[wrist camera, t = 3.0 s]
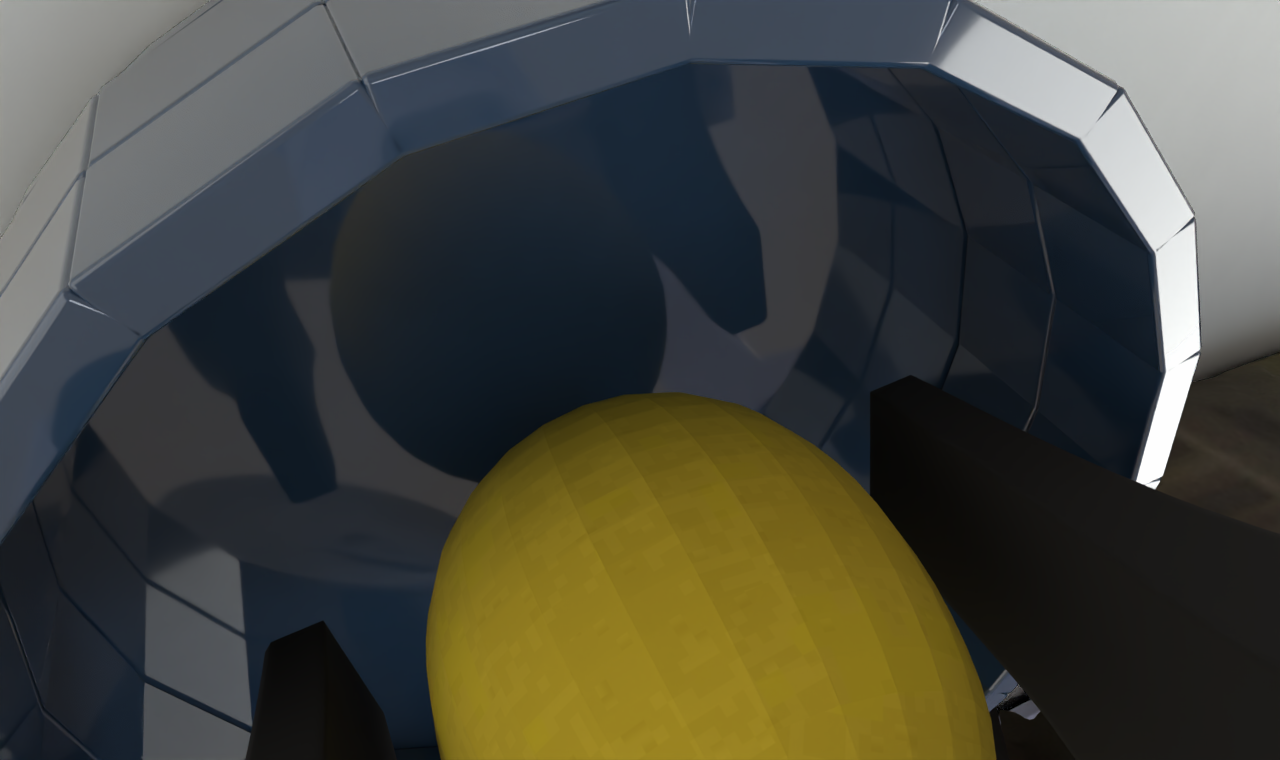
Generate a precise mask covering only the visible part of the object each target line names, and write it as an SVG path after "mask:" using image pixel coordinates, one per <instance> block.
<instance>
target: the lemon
mask: <svg viewBox="0 0 1280 760" xmlns="http://www.w3.org/2000/svg"><path fill="white" fill-rule="evenodd" d="M426 667H427V677H428V685H429V693H430V700H431V707H432V714H433V720H434V727H435V733H436V740H437V744H438V749H439V753H440V758H441V760H996V752H995V744H994V737H993V729H992V721H991V717H990V714H989V710H988V707H987V703H986V699H985V696H984V692H983V689H982V685H981V682H980V679H979V677H978V674H977V672H976V669H975V666H974V664H973V661H972V659H971V656H970V654H969V651H968V649H967V646H966V644H965V642H964V640H963V638H962V636H961V634H960V631H959V629H958V627H957V625H956V623H955V621H954V619H953V617H952V615H951V613H950V611H949V609H948V607H947V605H946V604H945V602H944V600H943V598H942V596H941V594H940V593H939V591H938V589H937V587H936V585H935V584H934V582H933V580H932V579H931V577H930V576H929V574H928V573H927V571H926V569H925V568H924V566H923V565H922V563H921V562H920V560H919V559H918V557H917V555H916V554H915V553H914V551H913V550H912V549H911V548H910V546H909V545H908V544H907V542H906V541H905V540H904V538H903V537H902V536H901V534H900V533H899V532H898V530H897V529H896V528H895V526H894V525H893V524H892V522H891V521H890V520H889V519H888V517H887V516H886V515H885V513H884V512H883V511H882V509H881V508H880V507H879V506H878V504H877V503H876V502H875V501H874V500H873V498H872V497H871V496H870V495H869V494H868V493H867V492H866V491H865V490H864V489H863V487H862V486H861V485H860V484H859V483H858V482H857V481H856V480H855V479H854V478H853V477H852V476H851V475H850V474H849V473H848V472H847V471H845V470H844V469H843V468H842V467H841V466H840V465H839V464H838V463H837V462H836V461H834V460H833V459H832V458H831V457H829V456H828V455H827V454H825V453H824V452H823V451H821V450H820V449H819V448H817V447H816V446H815V445H813V444H812V443H810V442H808V441H807V440H805V439H804V438H802V437H800V436H799V435H797V434H795V433H794V432H792V431H790V430H788V429H787V428H785V427H783V426H781V425H780V424H778V423H776V422H774V421H773V420H771V419H769V418H767V417H766V416H764V415H762V414H760V413H758V412H756V411H754V410H751V409H749V408H746V407H744V406H741V405H739V404H735V403H731V402H726V401H721V400H716V399H711V398H706V397H701V396H696V395H691V394H686V393H681V392H667V393H646V394H627V395H621V396H617V397H613V398H609V399H606V400H602V401H598V402H594V403H590V404H587V405H583V406H581V407H579V408H577V409H575V410H573V411H571V412H568V413H566V414H564V415H562V416H560V417H558V418H556V419H554V420H552V421H550V422H548V423H546V424H544V425H542V426H541V427H540V428H538V429H537V430H536V431H534V432H533V433H532V434H530V435H529V436H527V437H526V438H525V439H523V440H522V441H521V442H519V443H518V444H517V445H515V446H514V447H513V448H511V449H510V450H509V451H508V452H507V453H506V454H505V455H504V456H503V457H502V458H501V459H500V460H499V462H498V463H497V464H496V465H495V466H494V467H493V468H492V469H491V470H490V472H489V473H488V474H487V475H486V476H485V477H484V478H483V479H482V480H481V481H480V483H479V484H478V485H477V487H476V488H475V489H474V491H473V492H472V493H471V495H470V497H469V499H468V500H467V502H466V504H465V506H464V508H463V509H462V511H461V513H460V515H459V517H458V518H457V520H456V522H455V524H454V526H453V528H452V529H451V531H450V534H449V536H448V538H447V540H446V543H445V545H444V547H443V549H442V553H441V557H440V562H439V566H438V571H437V575H436V580H435V584H434V589H433V593H432V598H431V603H430V607H429V612H428V619H427V632H426Z"/></svg>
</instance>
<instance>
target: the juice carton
mask: <svg viewBox="0 0 1280 760" xmlns="http://www.w3.org/2000/svg"><path fill="white" fill-rule="evenodd" d="M1156 490H1158V491H1160V492H1163V493H1165V494H1168V495H1170V496H1173V497H1175V498H1178V499H1181V500H1183V501H1186V502H1189V503H1191V504H1194V505H1197V506H1199V507H1202V508H1205V509H1208V510H1211V511H1213V512H1216V513H1219V514H1222V515H1225V516H1228V517H1231V518H1234V519H1237V520H1240V521H1243V522H1246V523H1248V524H1251V525H1254V526H1257V527H1260V528H1263V529H1266V530H1269V531H1272V532H1276V533H1279V534H1280V353H1277V354H1274V355H1271V356H1268V357H1265V358H1262V359H1259V360H1256V361H1253V362H1251V363H1248V364H1245V365H1242V366H1240V367H1237V368H1234V369H1231V370H1228V371H1226V372H1224V373H1222V374H1220V375H1218V376H1216V377H1212V378H1208V379H1204V380H1200V381H1196V382H1192V384H1191V387H1190V391H1189V394H1188V397H1187V400H1186V404H1185V407H1184V410H1183V414H1182V417H1181V420H1180V424H1179V427H1178V430H1177V434H1176V437H1175V440H1174V443H1173V447H1172V450H1171V453H1170V457H1169V460H1168V463H1167V467H1166V470H1165V473H1164V475H1163V476H1162V477H1161V481H1160V483H1159V485H1158V486H1157V488H1156ZM989 714H990V717H991V721H992V729H993V737H994V744H995V752H996V760H1076V759H1075V758H1074V756H1073V755H1072V753H1071V752H1070V751H1069V749H1068V748H1067V746H1066V745H1065V744H1064V742H1063V741H1062V739H1061V738H1060V737H1059V735H1058V734H1057V732H1056V731H1055V730H1054V728H1053V727H1052V725H1051V724H1050V723H1049V721H1048V720H1047V719H1046V717H1045V716H1044V715H1043V714H1042V712H1041V711H1040V712H1039V713H1038V714H1037V716H1036V717H1035V718H1034V719H1031V720H1029V719H1026V718H1024V717H1023V716H1021V715H1019V714H1017V713H1015V712H1011V711H1006V710H1000V711H999V716H998V712H997V708H996V706H995V707H994V708H993V709H992V710H991V711H990V712H989ZM999 717H1000V720H999ZM1000 721H1001V724H1000Z"/></svg>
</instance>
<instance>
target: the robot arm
mask: <svg viewBox="0 0 1280 760" xmlns="http://www.w3.org/2000/svg"><path fill="white" fill-rule="evenodd" d="M870 496H871V497H872V498H873V500H874V501H875V502H876V503H877V504H878V506H879V507H880V508H881V509H882V511H883V512H884V513H885V515H886V516H887V517H888V519H889V520H890V521H891V522H892V524H893V525H894V526H895V528H896V529H897V530H898V532H899V533H900V534H901V536H902V537H903V538H904V540H905V541H906V542H907V544H908V545H909V546H910V548H911V549H912V550H913V551H914V553H915V554H916V555H917V557H918V559H919V560H920V562H921V563H922V565H923V566H924V568H925V569H926V571H927V573H928V574H929V576H930V577H931V579H932V580H933V582H934V584H935V585H936V587H937V589H938V591H939V593H940V594H941V596H942V597H943V598H944V599H945V600H946V601H947V603H948V604H949V605H950V606H951V607H952V608H953V610H954V611H955V612H956V613H957V614H958V615H959V616H960V618H961V619H962V620H963V621H964V622H965V623H966V624H967V626H968V627H969V628H970V629H971V630H972V631H973V633H974V634H975V635H976V636H977V637H978V638H979V639H980V641H981V642H982V643H983V644H984V645H985V646H986V647H987V649H988V650H989V651H990V652H991V653H992V654H993V655H994V657H995V658H996V659H997V660H998V661H999V662H1000V664H1001V665H1002V666H1003V667H1004V668H1005V669H1006V670H1007V672H1008V673H1009V674H1010V675H1011V676H1012V677H1013V678H1014V680H1015V681H1016V682H1017V683H1018V684H1019V685H1020V687H1021V688H1022V689H1023V690H1024V691H1025V692H1026V694H1027V695H1028V696H1029V697H1030V699H1031V700H1029V701H1027V702H1025V703H1023V704H1021V705H1019V706H1017V707H1015V708H1013V709H1011V710H1009V711H1011V712H1015V713H1017V714H1019V715H1021V716H1023V717H1024V718H1026V719H1029V720H1031V719H1034V718H1035V717H1036V716H1037V714H1038V713H1039V712H1040V711H1041V712H1042V714H1043V715H1044V716H1045V717H1046V719H1047V720H1048V721H1049V723H1050V724H1051V725H1052V727H1053V728H1054V730H1055V731H1056V732H1057V734H1058V735H1059V737H1060V738H1061V739H1062V741H1063V742H1064V744H1065V745H1066V746H1067V748H1068V749H1069V751H1070V752H1071V753H1072V755H1073V756H1074V758H1075V759H1076V760H1280V534H1279V533H1276V532H1272V531H1269V530H1266V529H1263V528H1260V527H1257V526H1254V525H1251V524H1248V523H1246V522H1243V521H1240V520H1237V519H1234V518H1231V517H1228V516H1225V515H1222V514H1219V513H1216V512H1213V511H1211V510H1208V509H1205V508H1202V507H1199V506H1197V505H1194V504H1191V503H1189V502H1186V501H1183V500H1181V499H1178V498H1175V497H1173V496H1170V495H1168V494H1165V493H1163V492H1160V491H1158V490H1155V489H1153V488H1150V487H1148V486H1146V485H1143V484H1141V483H1138V482H1136V481H1133V480H1131V479H1129V478H1126V477H1124V476H1121V475H1119V474H1116V473H1114V472H1112V471H1109V470H1107V469H1105V468H1103V467H1100V466H1098V465H1096V464H1094V463H1091V462H1089V461H1087V460H1085V459H1082V458H1080V457H1078V456H1076V455H1074V454H1071V453H1069V452H1067V451H1065V450H1063V449H1061V448H1058V447H1056V446H1054V445H1052V444H1050V443H1048V442H1046V441H1044V440H1041V439H1039V438H1037V437H1035V436H1033V435H1031V434H1029V433H1027V432H1025V431H1023V430H1021V429H1019V428H1017V427H1015V426H1013V425H1011V424H1009V423H1007V422H1005V421H1003V420H1001V419H999V418H997V417H994V416H992V415H990V414H988V413H986V412H984V411H982V410H980V409H978V408H976V407H975V406H973V405H971V404H969V403H967V402H965V401H963V400H961V399H959V398H957V397H955V396H953V395H951V394H949V393H947V392H945V391H943V390H941V389H939V388H937V387H935V386H933V385H931V384H929V383H927V382H925V381H923V380H921V379H919V378H917V377H914V376H912V375H909V376H907V377H904V378H902V379H900V380H897V381H895V382H892V383H890V384H888V385H885V386H883V387H880V388H878V389H876V390H873V391H871V392H870ZM999 720H1000V717H999ZM1000 724H1001V721H1000ZM245 760H397V758H396V754H395V751H394V747H393V744H392V740H391V737H390V733H389V730H388V726H387V722H386V719H385V715H384V712H383V711H382V709H381V708H380V706H379V705H378V703H377V702H376V700H375V699H374V697H373V696H372V694H371V693H370V691H369V689H368V688H367V686H366V685H365V683H364V682H363V680H362V679H361V677H360V676H359V674H358V673H357V671H356V670H355V668H354V667H353V665H352V663H351V662H350V660H349V659H348V657H347V656H346V654H345V653H344V651H343V650H342V648H341V647H340V645H339V644H338V642H337V641H336V639H335V638H334V636H333V634H332V633H331V631H330V630H329V628H328V627H327V625H326V624H325V622H324V621H320V622H318V623H316V624H313V625H311V626H308V627H306V628H304V629H301V630H299V631H296V632H294V633H292V634H289V635H287V636H284V637H282V638H280V639H277V640H275V641H272V642H271V643H270V644H269V646H268V648H267V650H266V651H265V656H264V662H263V669H262V675H261V681H260V687H259V693H258V699H257V704H256V710H255V715H254V720H253V725H252V730H251V735H250V740H249V744H248V749H247V754H246V758H245Z"/></svg>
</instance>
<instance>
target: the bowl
mask: <svg viewBox="0 0 1280 760" xmlns="http://www.w3.org/2000/svg"><path fill="white" fill-rule="evenodd" d="M1194 215H1195V212H1194V210H1193V209H1192V207H1191V205H1190V203H1189V202H1188V200H1187V198H1186V196H1185V195H1184V193H1183V191H1182V189H1181V188H1180V186H1179V184H1178V182H1177V181H1176V179H1175V177H1174V175H1173V174H1172V172H1171V170H1170V168H1169V167H1168V165H1167V163H1166V161H1165V160H1164V158H1163V156H1162V154H1161V153H1160V151H1159V149H1158V147H1157V146H1156V144H1155V142H1154V140H1153V138H1152V137H1151V135H1150V133H1149V131H1148V130H1147V128H1146V126H1145V124H1144V123H1143V121H1142V119H1141V117H1140V116H1139V114H1138V112H1137V110H1136V109H1135V107H1134V105H1133V103H1132V102H1131V100H1130V98H1129V96H1128V95H1127V93H1126V91H1125V90H1124V88H1123V87H1120V86H1118V85H1117V83H1116V82H1115V81H1114V80H1113V79H1111V78H1109V77H1107V76H1106V75H1104V74H1102V73H1100V72H1098V71H1097V70H1095V69H1093V68H1091V67H1090V66H1088V65H1086V64H1084V63H1083V62H1081V61H1079V60H1077V59H1076V58H1074V57H1072V56H1070V55H1068V54H1067V53H1065V52H1063V51H1061V50H1060V49H1058V48H1056V47H1054V46H1053V45H1051V44H1049V43H1047V42H1046V41H1044V40H1042V39H1040V38H1039V37H1037V36H1035V35H1033V34H1031V33H1030V32H1028V31H1026V30H1024V29H1023V28H1021V27H1019V26H1017V25H1016V24H1014V23H1012V22H1010V21H1009V20H1007V19H1005V18H1003V17H1001V16H1000V15H998V14H996V13H994V12H993V11H991V10H989V9H987V8H986V7H984V6H982V5H980V4H979V3H977V2H975V1H973V0H210V1H209V2H207V3H206V4H205V5H203V6H202V7H201V8H199V9H198V10H197V11H195V12H194V13H193V14H191V15H190V16H188V17H187V18H186V19H184V20H183V21H182V22H180V23H179V24H178V25H176V26H175V27H174V28H172V29H171V30H169V31H168V32H167V33H165V34H164V35H163V36H161V37H160V38H159V39H157V40H156V41H155V42H153V43H152V44H151V45H149V46H148V47H147V48H146V49H145V50H144V51H143V52H142V53H141V54H140V55H139V56H138V57H137V58H136V59H135V60H134V61H133V62H132V63H131V64H130V65H129V66H128V67H127V68H126V69H125V70H124V71H123V72H122V73H121V74H119V75H118V76H116V77H115V78H114V79H112V80H111V81H109V82H108V83H107V84H105V85H104V86H102V87H101V89H100V91H99V94H98V95H96V96H94V97H92V98H91V99H90V100H89V102H88V103H87V105H86V106H85V108H84V110H83V111H82V113H81V114H80V116H79V117H78V119H77V120H76V121H75V123H74V124H73V126H72V127H71V128H70V130H69V131H68V133H67V134H66V135H65V137H64V138H63V140H62V141H61V142H60V144H59V145H58V147H57V148H56V149H55V151H54V152H53V154H52V155H51V156H50V158H49V159H48V161H47V162H46V163H45V165H44V166H43V168H42V169H41V170H40V172H39V173H38V175H37V176H36V177H35V179H34V180H33V182H32V183H31V184H30V186H29V187H28V188H27V190H26V192H25V194H24V197H23V199H22V201H21V203H20V205H19V207H18V209H17V211H16V213H15V215H14V217H13V219H12V221H11V223H10V225H9V226H8V228H7V229H6V231H5V232H4V234H3V236H2V237H1V239H0V760H245V758H246V754H247V749H248V744H249V740H250V735H251V730H252V725H253V720H254V715H255V710H256V704H257V699H258V693H259V687H260V681H261V675H262V669H263V662H264V656H265V651H266V650H267V648H268V646H269V644H270V643H271V642H272V641H275V640H277V639H280V638H282V637H284V636H287V635H289V634H292V633H294V632H296V631H299V630H301V629H304V628H306V627H308V626H311V625H313V624H316V623H318V622H320V621H324V622H325V624H326V625H327V627H328V628H329V630H330V631H331V633H332V634H333V636H334V638H335V639H336V641H337V642H338V644H339V645H340V647H341V648H342V650H343V651H344V653H345V654H346V656H347V657H348V659H349V660H350V662H351V663H352V665H353V667H354V668H355V670H356V671H357V673H358V674H359V676H360V677H361V679H362V680H363V682H364V683H365V685H366V686H367V688H368V689H369V691H370V693H371V694H372V696H373V697H374V699H375V700H376V702H377V703H378V705H379V706H380V708H381V709H382V711H383V712H384V715H385V719H386V722H387V726H388V730H389V733H390V737H391V740H392V744H393V747H394V751H395V754H396V758H397V760H441V758H440V753H439V749H438V744H437V740H436V733H435V727H434V720H433V714H432V707H431V700H430V693H429V685H428V677H427V667H426V632H427V619H428V612H429V607H430V603H431V598H432V593H433V589H434V584H435V580H436V575H437V571H438V566H439V562H440V557H441V553H442V549H443V547H444V545H445V543H446V540H447V538H448V536H449V534H450V531H451V529H452V528H453V526H454V524H455V522H456V520H457V518H458V517H459V515H460V513H461V511H462V509H463V508H464V506H465V504H466V502H467V500H468V499H469V497H470V495H471V493H472V492H473V491H474V489H475V488H476V487H477V485H478V484H479V483H480V481H481V480H482V479H483V478H484V477H485V476H486V475H487V474H488V473H489V472H490V470H491V469H492V468H493V467H494V466H495V465H496V464H497V463H498V462H499V460H500V459H501V458H502V457H503V456H504V455H505V454H506V453H507V452H508V451H509V450H510V449H511V448H513V447H514V446H515V445H517V444H518V443H519V442H521V441H522V440H523V439H525V438H526V437H527V436H529V435H530V434H532V433H533V432H534V431H536V430H537V429H538V428H540V427H541V426H542V425H544V424H546V423H548V422H550V421H552V420H554V419H556V418H558V417H560V416H562V415H564V414H566V413H568V412H571V411H573V410H575V409H577V408H579V407H581V406H583V405H587V404H590V403H594V402H598V401H602V400H606V399H609V398H613V397H617V396H621V395H627V394H646V393H667V392H681V393H686V394H691V395H696V396H701V397H706V398H711V399H716V400H721V401H726V402H731V403H735V404H739V405H741V406H744V407H746V408H749V409H751V410H754V411H756V412H758V413H760V414H762V415H764V416H766V417H767V418H769V419H771V420H773V421H774V422H776V423H778V424H780V425H781V426H783V427H785V428H787V429H788V430H790V431H792V432H794V433H795V434H797V435H799V436H800V437H802V438H804V439H805V440H807V441H808V442H810V443H812V444H813V445H815V446H816V447H817V448H819V449H820V450H821V451H823V452H824V453H825V454H827V455H828V456H829V457H831V458H832V459H833V460H834V461H836V462H837V463H838V464H839V465H840V466H841V467H842V468H843V469H844V470H845V471H847V472H848V473H849V474H850V475H851V476H852V477H853V478H854V479H855V480H856V481H857V482H858V483H859V484H860V485H861V486H862V487H863V489H864V490H865V491H866V492H867V493H868V494H869V495H870V392H871V391H873V390H876V389H878V388H880V387H883V386H885V385H888V384H890V383H892V382H895V381H897V380H900V379H902V378H904V377H907V376H909V375H912V376H914V377H917V378H919V379H921V380H923V381H925V382H927V383H929V384H931V385H933V386H935V387H937V388H939V389H941V390H943V391H945V392H947V393H949V394H951V395H953V396H955V397H957V398H959V399H961V400H963V401H965V402H967V403H969V404H971V405H973V406H975V407H976V408H978V409H980V410H982V411H984V412H986V413H988V414H990V415H992V416H994V417H997V418H999V419H1001V420H1003V421H1005V422H1007V423H1009V424H1011V425H1013V426H1015V427H1017V428H1019V429H1021V430H1023V431H1025V432H1027V433H1029V434H1031V435H1033V436H1035V437H1037V438H1039V439H1041V440H1044V441H1046V442H1048V443H1050V444H1052V445H1054V446H1056V447H1058V448H1061V449H1063V450H1065V451H1067V452H1069V453H1071V454H1074V455H1076V456H1078V457H1080V458H1082V459H1085V460H1087V461H1089V462H1091V463H1094V464H1096V465H1098V466H1100V467H1103V468H1105V469H1107V470H1109V471H1112V472H1114V473H1116V474H1119V475H1121V476H1124V477H1126V478H1129V479H1131V480H1133V481H1136V482H1138V483H1141V484H1143V485H1146V486H1148V487H1150V488H1153V489H1155V490H1156V488H1157V486H1158V485H1159V483H1160V481H1161V477H1162V476H1163V475H1164V473H1165V470H1166V467H1167V463H1168V460H1169V457H1170V453H1171V450H1172V447H1173V443H1174V440H1175V437H1176V434H1177V430H1178V427H1179V424H1180V420H1181V417H1182V414H1183V410H1184V407H1185V404H1186V400H1187V397H1188V394H1189V391H1190V387H1191V384H1192V381H1193V377H1194V374H1195V371H1196V367H1197V364H1198V361H1199V357H1200V354H1201V353H1200V349H1201V347H1202V344H1201V321H1200V299H1199V276H1198V253H1197V231H1196V219H1195V217H1194ZM942 598H943V597H942ZM943 600H944V602H945V604H946V605H947V607H948V609H949V611H950V613H951V615H952V617H953V619H954V621H955V623H956V625H957V627H958V629H959V631H960V634H961V636H962V638H963V640H964V642H965V644H966V646H967V649H968V651H969V654H970V656H971V659H972V661H973V664H974V666H975V669H976V672H977V674H978V677H979V679H980V682H981V685H982V689H983V692H984V696H985V699H986V703H987V707H988V710H989V712H990V711H991V710H992V709H993V708H994V707H995V706H997V705H998V704H999V703H1000V702H1001V701H1002V700H1003V699H1004V698H1006V696H1007V695H1008V694H1007V693H1010V692H1012V690H1013V689H1014V688H1015V687H1016V686H1017V685H1018V683H1017V682H1016V681H1015V680H1014V678H1013V677H1012V676H1011V675H1010V674H1009V673H1008V672H1007V670H1006V669H1005V668H1004V667H1003V666H1002V665H1001V664H1000V662H999V661H998V660H997V659H996V658H995V657H994V655H993V654H992V653H991V652H990V651H989V650H988V649H987V647H986V646H985V645H984V644H983V643H982V642H981V641H980V639H979V638H978V637H977V636H976V635H975V634H974V633H973V631H972V630H971V629H970V628H969V627H968V626H967V624H966V623H965V622H964V621H963V620H962V619H961V618H960V616H959V615H958V614H957V613H956V612H955V611H954V610H953V608H952V607H951V606H950V605H949V604H948V603H947V601H946V600H945V599H944V598H943Z"/></svg>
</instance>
